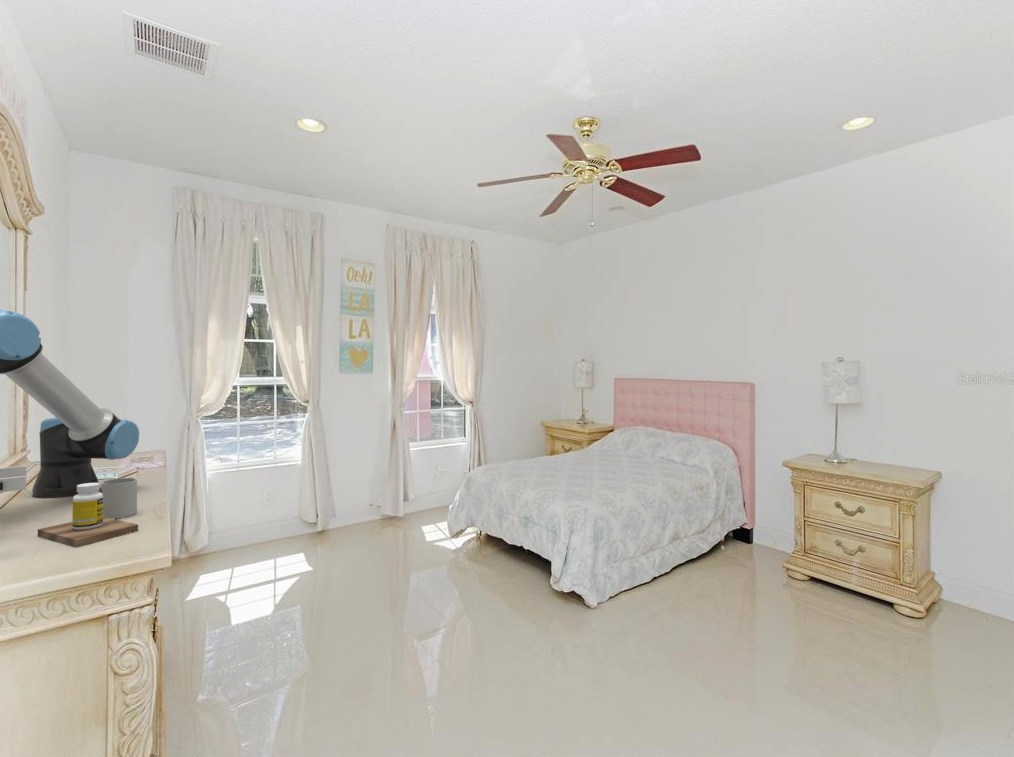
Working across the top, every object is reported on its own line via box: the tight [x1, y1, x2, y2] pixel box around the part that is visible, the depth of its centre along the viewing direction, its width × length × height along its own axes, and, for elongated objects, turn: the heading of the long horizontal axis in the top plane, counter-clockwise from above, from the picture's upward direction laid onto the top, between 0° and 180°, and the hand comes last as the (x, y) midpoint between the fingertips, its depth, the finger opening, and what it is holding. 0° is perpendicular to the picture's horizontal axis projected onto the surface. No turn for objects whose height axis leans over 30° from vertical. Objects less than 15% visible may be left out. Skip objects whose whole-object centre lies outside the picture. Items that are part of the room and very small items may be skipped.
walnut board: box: [37, 517, 139, 548], centre depth 115 cm, size 16×12×2 cm
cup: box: [101, 477, 138, 519], centre depth 130 cm, size 7×10×9 cm
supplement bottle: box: [71, 483, 103, 530], centre depth 115 cm, size 5×5×10 cm
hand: (26, 476), depth 109 cm, fingers open, 13 cm apart
